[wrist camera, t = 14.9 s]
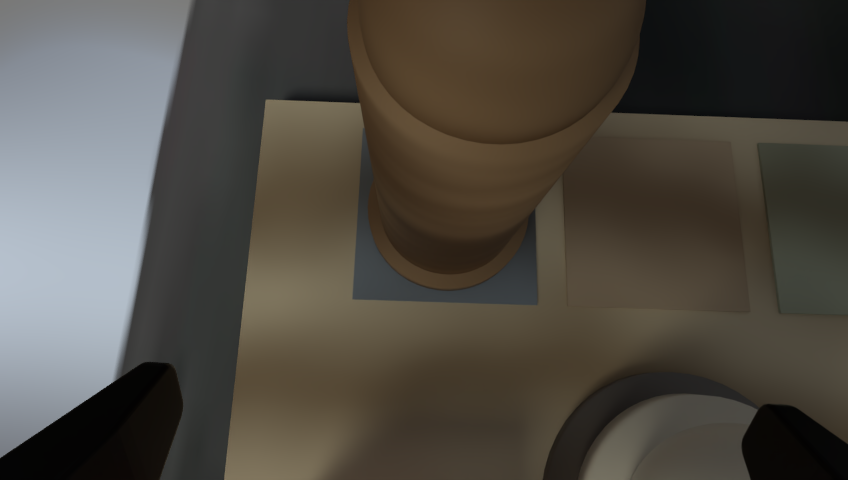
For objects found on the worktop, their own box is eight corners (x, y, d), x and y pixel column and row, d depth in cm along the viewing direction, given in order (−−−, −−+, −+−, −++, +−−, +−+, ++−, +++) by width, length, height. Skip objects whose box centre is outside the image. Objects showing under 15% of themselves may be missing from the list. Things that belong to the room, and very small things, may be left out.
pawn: (549, 254, 18) (860, 1, 6) (405, 316, 17) (397, 186, 5) (484, 121, 19) (624, -336, 7) (346, 175, 18) (218, -219, 6)
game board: (1068, 772, 15) (1141, 817, 14) (204, 756, 15) (181, 801, 14) (931, 137, 20) (975, 118, 19) (273, 113, 20) (261, 90, 18)
